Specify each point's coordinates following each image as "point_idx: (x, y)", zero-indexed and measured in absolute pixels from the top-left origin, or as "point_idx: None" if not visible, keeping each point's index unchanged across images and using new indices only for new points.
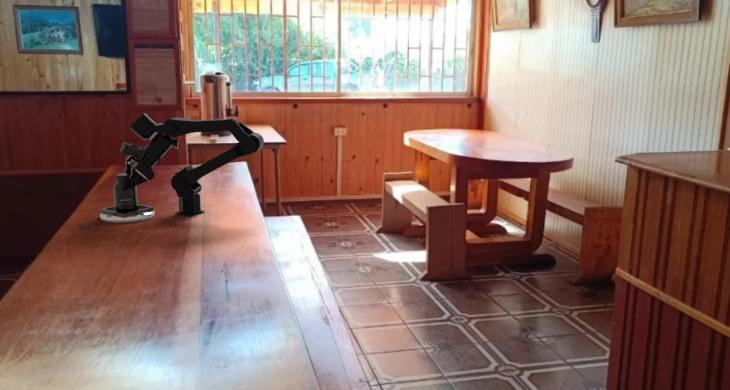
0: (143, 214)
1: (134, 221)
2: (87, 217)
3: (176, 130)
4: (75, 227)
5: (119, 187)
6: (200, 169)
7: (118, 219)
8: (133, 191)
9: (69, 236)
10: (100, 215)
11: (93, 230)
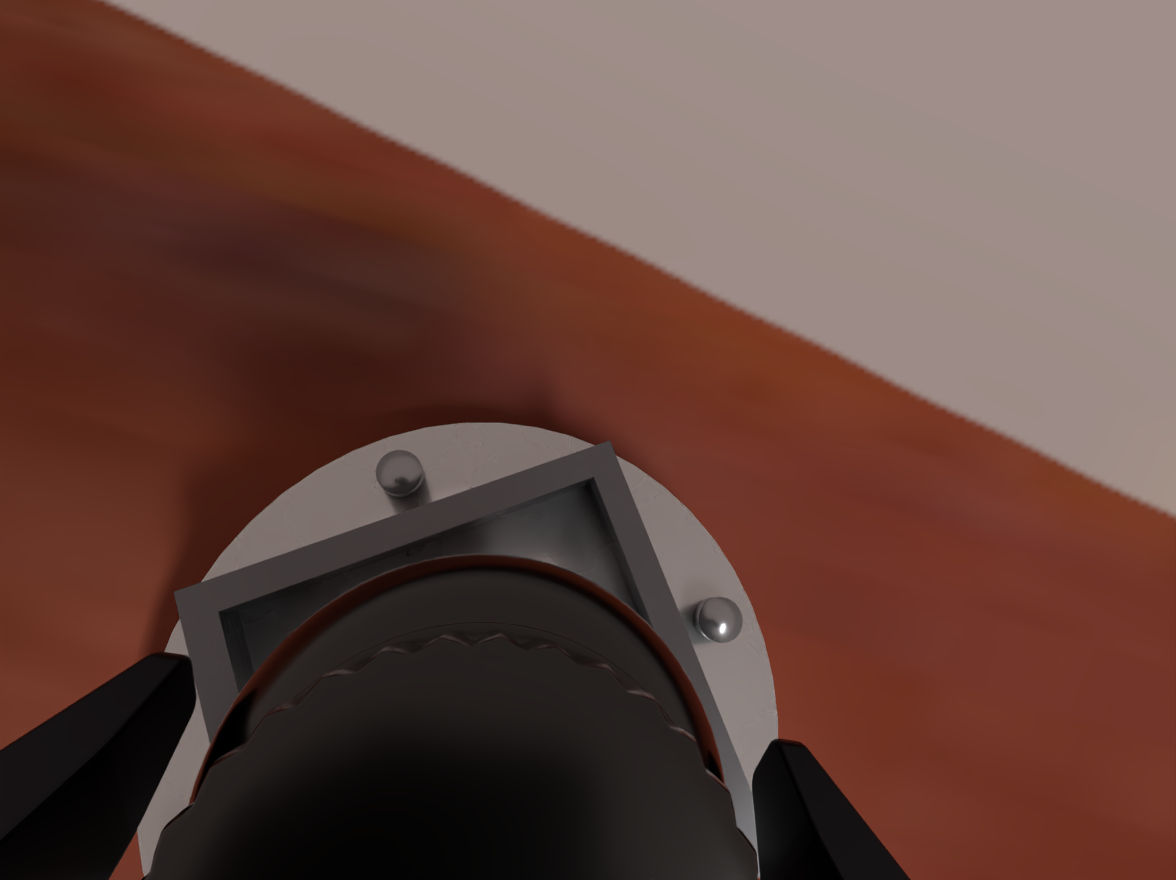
0: None
1: None
2: (673, 371)
3: None
4: (381, 194)
5: (299, 630)
6: None
7: (243, 534)
8: None
9: (118, 76)
10: (520, 427)
11: (163, 269)
